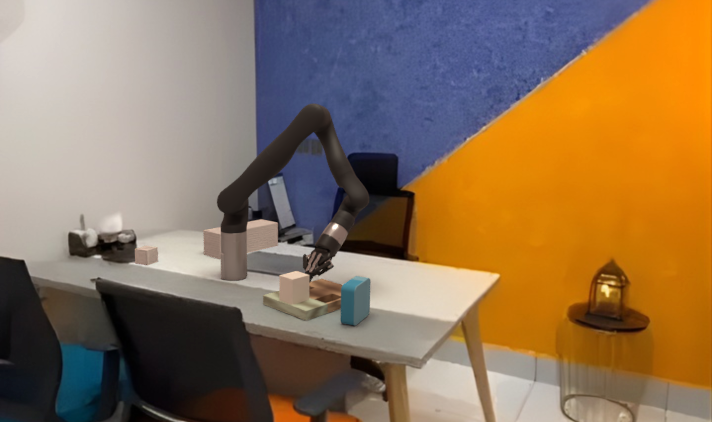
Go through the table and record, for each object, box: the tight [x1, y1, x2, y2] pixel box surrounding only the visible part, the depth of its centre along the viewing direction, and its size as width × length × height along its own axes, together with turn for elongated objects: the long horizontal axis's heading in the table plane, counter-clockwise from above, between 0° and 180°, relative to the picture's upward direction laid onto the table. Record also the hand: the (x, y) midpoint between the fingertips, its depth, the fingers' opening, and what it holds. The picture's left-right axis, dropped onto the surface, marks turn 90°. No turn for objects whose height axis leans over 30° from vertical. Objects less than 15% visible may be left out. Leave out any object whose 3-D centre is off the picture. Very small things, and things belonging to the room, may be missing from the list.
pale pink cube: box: [134, 245, 159, 266], centre depth 231 cm, size 6×6×6 cm
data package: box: [340, 275, 372, 327], centre depth 175 cm, size 12×4×12 cm, turn 157°
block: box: [278, 270, 309, 305], centre depth 182 cm, size 7×6×8 cm
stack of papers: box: [202, 218, 279, 260], centre depth 253 cm, size 32×11×11 cm, turn 141°
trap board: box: [262, 278, 343, 321], centre depth 190 cm, size 26×20×3 cm
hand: (303, 283), depth 185 cm, fingers closed
